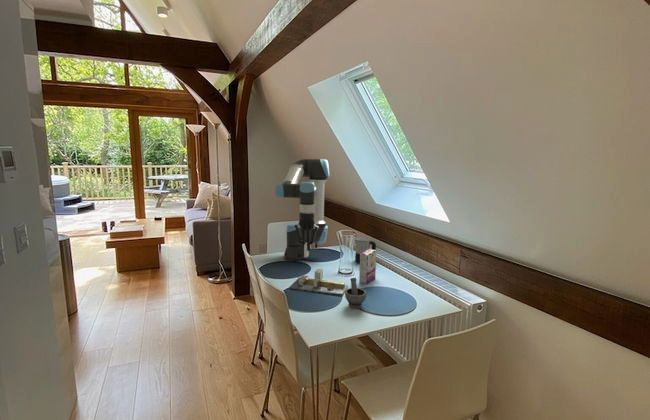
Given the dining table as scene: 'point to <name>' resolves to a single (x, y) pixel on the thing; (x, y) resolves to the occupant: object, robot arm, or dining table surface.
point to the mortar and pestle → (355, 295)
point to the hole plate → (319, 288)
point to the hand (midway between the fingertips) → (306, 256)
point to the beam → (326, 283)
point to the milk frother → (363, 247)
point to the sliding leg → (318, 276)
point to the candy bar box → (367, 266)
